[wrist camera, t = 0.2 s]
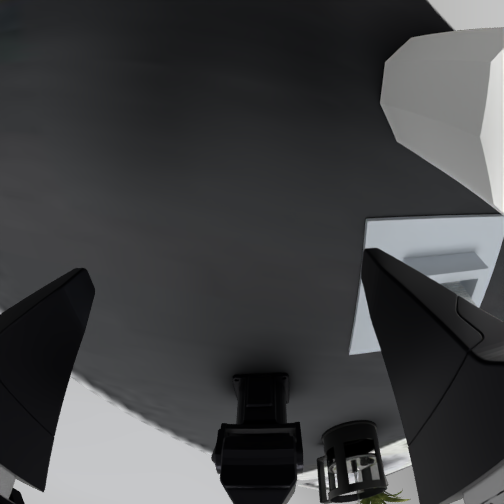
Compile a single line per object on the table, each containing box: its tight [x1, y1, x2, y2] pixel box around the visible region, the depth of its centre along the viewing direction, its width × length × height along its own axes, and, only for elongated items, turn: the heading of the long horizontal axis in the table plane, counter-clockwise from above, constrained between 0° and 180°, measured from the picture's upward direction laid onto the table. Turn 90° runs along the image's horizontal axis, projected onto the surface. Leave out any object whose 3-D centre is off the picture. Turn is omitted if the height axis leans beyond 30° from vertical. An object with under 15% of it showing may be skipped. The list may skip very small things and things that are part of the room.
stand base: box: [348, 214, 504, 355], centre depth 26 cm, size 16×16×4 cm
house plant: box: [357, 464, 409, 504], centre depth 49 cm, size 14×14×16 cm
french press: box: [317, 420, 387, 504], centre depth 34 cm, size 12×9×23 cm
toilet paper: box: [380, 27, 504, 216], centre depth 13 cm, size 10×10×12 cm
